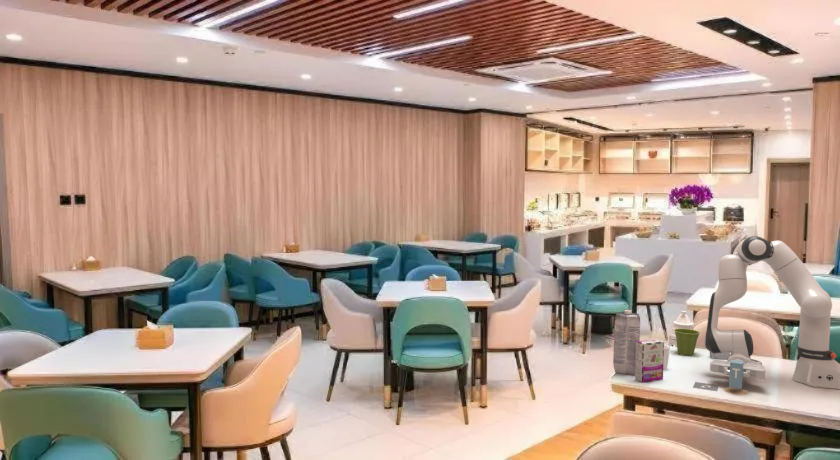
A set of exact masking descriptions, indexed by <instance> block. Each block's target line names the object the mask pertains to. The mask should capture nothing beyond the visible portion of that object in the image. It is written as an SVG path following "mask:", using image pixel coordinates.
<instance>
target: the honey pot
mask: <svg viewBox="0 0 840 460" xmlns="http://www.w3.org/2000/svg"><path fill="white" fill-rule="evenodd" d="M672 324H673V325H672V327H671V330H670V332H669V334H668V345H670V346H671V345H675V348H677V340H676V335H675V331H674V329H691V330H695V329H694V327H693V326H695V323H694V322H692V321H691V318H690V317H689V315H688V314H687V311H686V310H681V311H680V314H679V315H678V316H677V317H676V319H675V320H674V321H672ZM696 347H697V345H696V346H695V348H696Z"/></svg>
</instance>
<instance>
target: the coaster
mask: <svg viewBox="0 0 840 460" xmlns="http://www.w3.org/2000/svg"><path fill="white" fill-rule="evenodd" d="M723 391H724V392H726V393H728V394H733V395H738V396H742V395H743V396H744V395H748V394H749V393H750V392H749V391H748V390H746V389H744V388H742V389H738V388H731V387H729V386H728V387H724V388H723Z"/></svg>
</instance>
